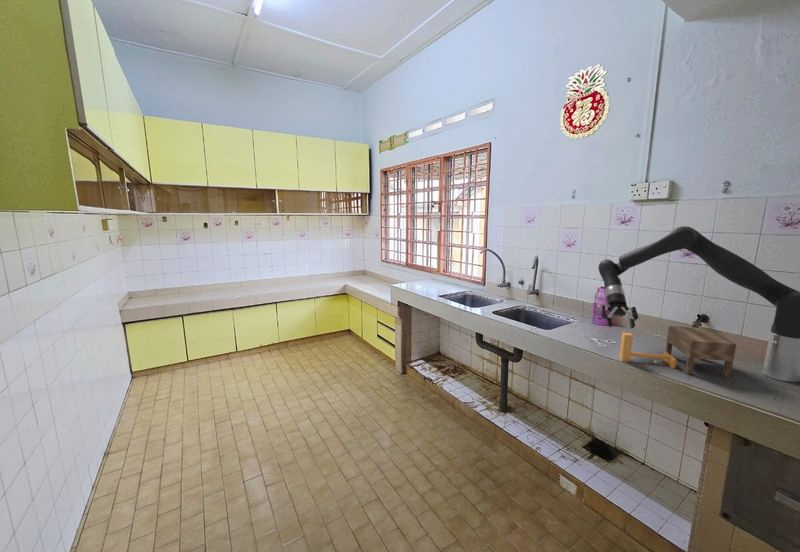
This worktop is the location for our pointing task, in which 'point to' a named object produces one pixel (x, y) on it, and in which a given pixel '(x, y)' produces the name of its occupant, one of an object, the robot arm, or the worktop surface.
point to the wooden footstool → (701, 346)
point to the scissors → (600, 340)
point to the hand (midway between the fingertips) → (621, 327)
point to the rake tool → (626, 353)
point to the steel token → (660, 362)
